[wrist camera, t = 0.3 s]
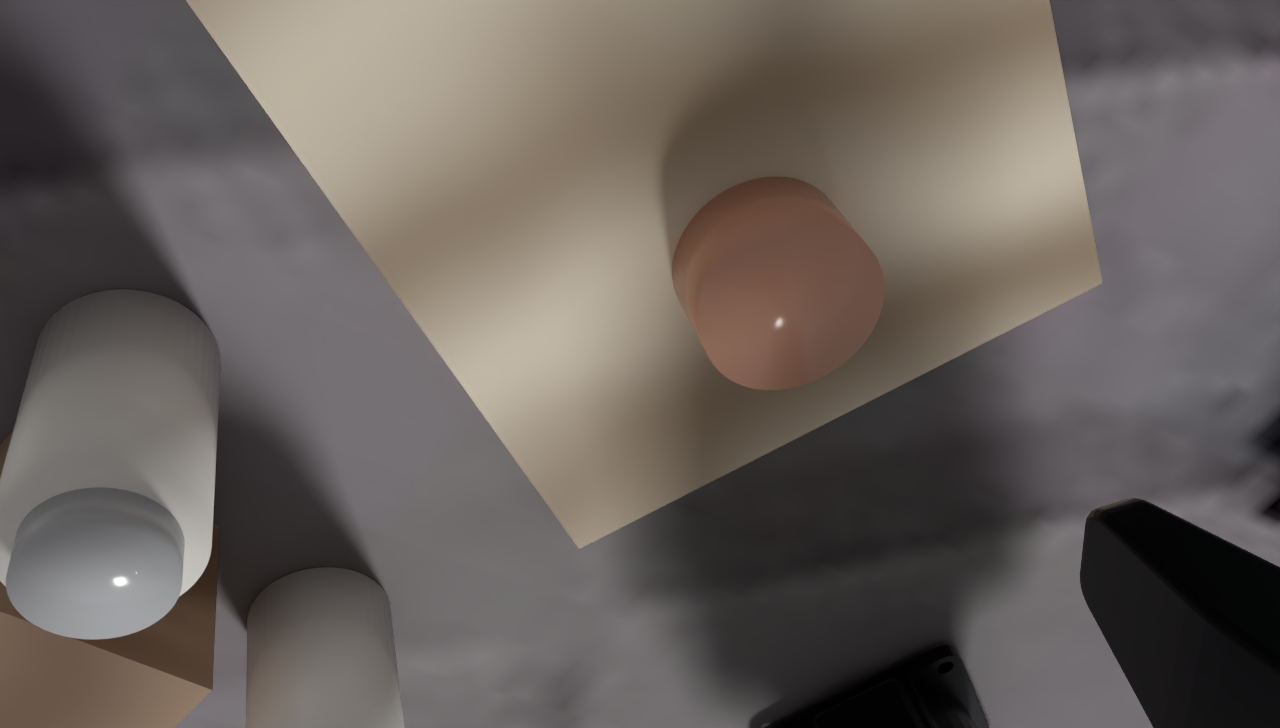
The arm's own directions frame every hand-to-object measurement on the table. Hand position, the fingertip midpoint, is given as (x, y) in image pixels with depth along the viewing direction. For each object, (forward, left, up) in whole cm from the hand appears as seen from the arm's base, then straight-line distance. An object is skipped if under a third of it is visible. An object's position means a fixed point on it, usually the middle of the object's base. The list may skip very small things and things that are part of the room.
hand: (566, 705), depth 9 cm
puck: (-7, -4, -13) cm, 15 cm away
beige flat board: (-4, -4, -14) cm, 15 cm away
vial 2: (-11, +8, -14) cm, 19 cm away
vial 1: (-3, +7, -14) cm, 16 cm away
